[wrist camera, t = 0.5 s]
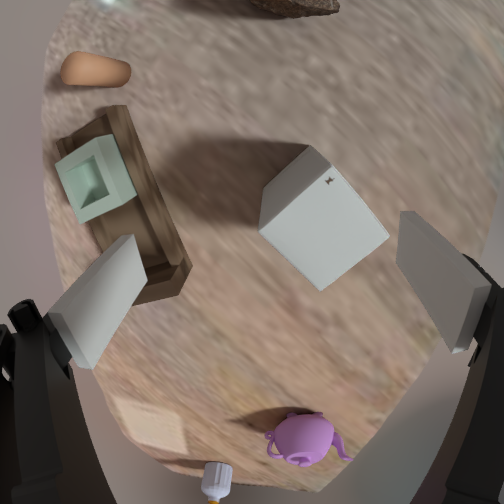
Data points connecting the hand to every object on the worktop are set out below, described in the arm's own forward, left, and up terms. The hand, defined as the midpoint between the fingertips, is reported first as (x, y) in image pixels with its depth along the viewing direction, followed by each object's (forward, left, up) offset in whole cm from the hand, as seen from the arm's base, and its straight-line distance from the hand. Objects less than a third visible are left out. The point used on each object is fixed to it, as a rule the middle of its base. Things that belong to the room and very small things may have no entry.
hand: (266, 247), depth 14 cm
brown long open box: (-2, -22, -26) cm, 34 cm away
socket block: (-7, -22, -24) cm, 33 cm away
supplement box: (+5, +3, -26) cm, 27 cm away
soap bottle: (+83, -43, -26) cm, 97 cm away
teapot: (+58, -9, -26) cm, 65 cm away
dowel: (-20, -16, -26) cm, 36 cm away
